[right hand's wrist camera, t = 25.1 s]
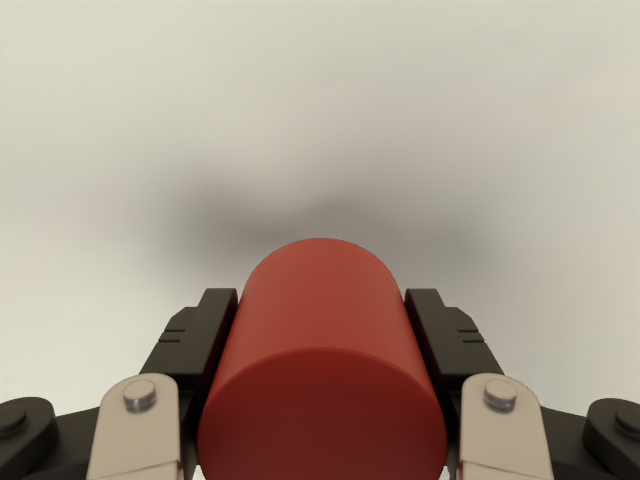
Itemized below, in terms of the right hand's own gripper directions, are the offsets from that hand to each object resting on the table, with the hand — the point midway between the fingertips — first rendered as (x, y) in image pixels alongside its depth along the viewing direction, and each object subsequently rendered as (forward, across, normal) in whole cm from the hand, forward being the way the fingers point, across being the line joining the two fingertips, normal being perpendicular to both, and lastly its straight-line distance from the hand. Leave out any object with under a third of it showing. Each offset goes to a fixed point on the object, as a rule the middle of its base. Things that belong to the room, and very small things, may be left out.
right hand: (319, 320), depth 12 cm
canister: (0, 0, 0) cm, 1 cm away
